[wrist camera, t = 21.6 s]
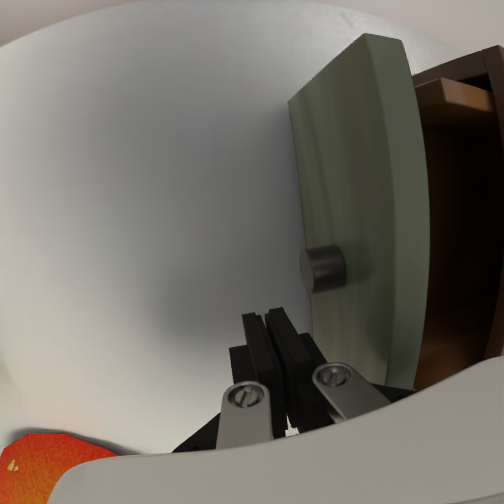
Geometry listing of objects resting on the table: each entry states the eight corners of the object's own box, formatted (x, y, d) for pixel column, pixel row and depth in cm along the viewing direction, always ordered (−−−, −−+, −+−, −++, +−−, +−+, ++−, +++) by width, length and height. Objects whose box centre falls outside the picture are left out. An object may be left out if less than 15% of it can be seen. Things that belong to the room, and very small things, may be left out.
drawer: (293, 366, 15) (341, 469, 8) (261, 103, 12) (317, 26, 5) (490, 297, 17) (556, 332, 10) (490, 118, 14) (570, 113, 7)
